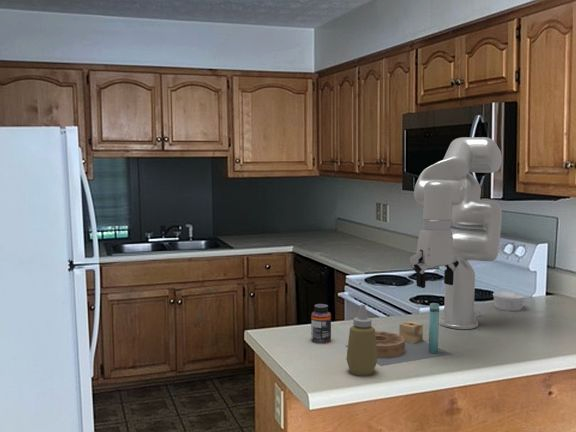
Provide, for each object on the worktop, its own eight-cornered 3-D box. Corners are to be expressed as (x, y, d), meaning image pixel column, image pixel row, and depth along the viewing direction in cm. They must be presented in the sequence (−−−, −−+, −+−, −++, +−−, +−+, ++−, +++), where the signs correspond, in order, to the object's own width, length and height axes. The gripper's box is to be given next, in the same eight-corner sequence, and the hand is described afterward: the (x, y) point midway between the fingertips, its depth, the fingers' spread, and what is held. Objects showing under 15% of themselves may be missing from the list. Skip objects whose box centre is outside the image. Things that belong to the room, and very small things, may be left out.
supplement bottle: (320, 337, 192) (320, 301, 191) (335, 341, 188) (335, 305, 187) (307, 341, 188) (307, 305, 187) (321, 346, 184) (322, 308, 183)
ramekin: (531, 311, 226) (531, 297, 226) (503, 313, 223) (504, 298, 223) (513, 304, 237) (513, 290, 236) (486, 305, 234) (487, 291, 234)
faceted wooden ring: (385, 340, 188) (386, 329, 188) (413, 353, 176) (414, 341, 175) (345, 346, 182) (346, 334, 182) (371, 360, 170) (372, 348, 169)
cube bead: (408, 336, 192) (408, 320, 192) (422, 340, 189) (422, 324, 188) (399, 340, 189) (399, 323, 188) (413, 343, 185) (413, 327, 185)
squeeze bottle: (355, 380, 156) (356, 310, 154) (340, 370, 164) (341, 303, 162) (383, 375, 159) (384, 307, 158) (367, 366, 167) (368, 300, 165)
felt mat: (411, 337, 193) (411, 336, 193) (452, 355, 176) (452, 353, 176) (345, 347, 183) (345, 345, 183) (381, 367, 166) (381, 365, 166)
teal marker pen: (434, 350, 179) (435, 302, 178) (440, 352, 177) (441, 304, 175) (426, 351, 178) (427, 303, 177) (432, 354, 176) (433, 305, 174)
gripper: (452, 223, 181) (450, 281, 182) (403, 225, 173) (401, 285, 175) (470, 225, 174) (467, 285, 175) (419, 228, 167) (417, 290, 168)
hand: (434, 285), depth 175 cm, fingers open, 9 cm apart
